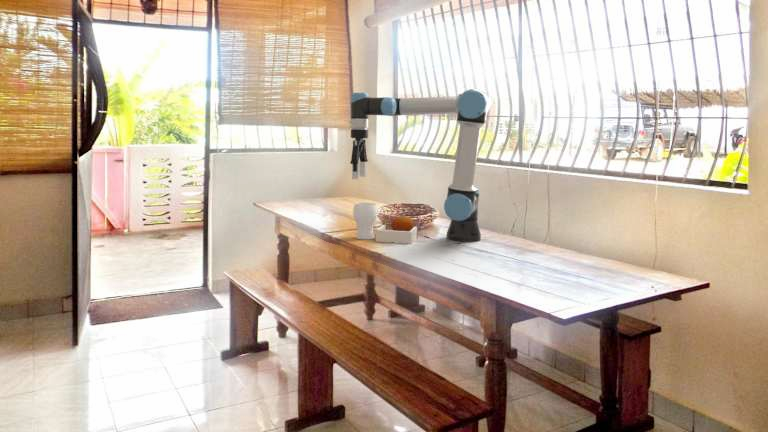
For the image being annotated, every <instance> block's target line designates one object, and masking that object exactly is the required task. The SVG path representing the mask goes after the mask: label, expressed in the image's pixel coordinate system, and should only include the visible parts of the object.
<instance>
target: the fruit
mask: <svg viewBox="0 0 768 432" xmlns="http://www.w3.org/2000/svg"><path fill="white" fill-rule="evenodd" d="M414 222H415V221H414V219H412V218H411V217H410V216H406V215H405V216H404V215H397V216H396V217H394V218H393V219H392V220H391V224H390V225H391V229H392V230H393V231H410V230H411V229H412V228H413V227H414Z"/></svg>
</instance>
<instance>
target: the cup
mask: <svg viewBox="0 0 768 432" xmlns="http://www.w3.org/2000/svg"><path fill="white" fill-rule="evenodd" d="M378 212H379V211H378V205H377V204H376V203H374V202H356V203H354V205H353V209H352V215H353V218H354V221H355V223H356V229H357V230H356V235H355V236H356V237H355V238H356V239H357V240H372V239H374V238H375V237H374V224H375V222H376V220H377V217H378Z"/></svg>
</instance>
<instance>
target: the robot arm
mask: <svg viewBox="0 0 768 432" xmlns="http://www.w3.org/2000/svg"><path fill="white" fill-rule="evenodd" d="M350 98H351V99H350V120H349V123H350V128H352V129H350V138H351V139H355V140H352V151H351V157H350V164H351V166H352V169H351V170H352V171H351V174H352V176H351V177H352V178H351V179H352V180H360V177H366V171H367V170H366V168H367V167H366V166H367V162H368V160H369V159H368V157H367V147H366V146H367V145H366V143H367V142H366V139H368V138H369V130H368V129H369V116H386V117H387V116H390V117H395V116H397V117H398V116H429V115H430V116H431V115H434V116H435V115H436V116H437V115H457V118H456V122H457V123H458V125H459V131H458V139H457V146H456V147H457V148H456V152H455V153H456V155H455V161H454V169H453V178H452V183H451V184H450V185H448V187H447V195H446V199H445V200H444V204H443V209H444V213H445V214H446V216H447V217H448V218H449V219H451V220H450V224H449V226H448V229H447V231H446V239H447V240H451V241H455V242H478V241H480V240H481V238H482V234H481V231H480V226H479V223H478V222H479V221H478V219H479V217H478V216H479V197H480V193H479V192H480V191H479V188H477V187H475V186H474V181H475V180H474V179H475V173H476V167H477V166H476V165H477V160H478V159H477V158H478V151H479V145H480V137H481V130H482V129H481V128H482V127H484V126H485V125H486V120H487V114H488V113H489V112H490V108H491V106H492V105H491V104H492V103H491V99H490V96H488V94H487V93H486V92H484V91H482V90H480V89H477V88H469V89H467V90H464V92H462V93H459V94H458V95H457V96H454V95H453V96H433V97H432V96H431V97H428V96H427V97H402V98H401V97H397V98H395V97H388V96H387V97H386V96H385V97H384V96H383V97H370V96H369V93H368V92H353V93H351V97H350Z"/></svg>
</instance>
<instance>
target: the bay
mask: <svg viewBox="0 0 768 432" xmlns="http://www.w3.org/2000/svg"><path fill="white" fill-rule="evenodd" d="M418 236H419V221H416V220H415V221H414V227H413V228H412V229H411V230H410V231H393V229H392V230H391V229H388V219H383V220H382V225H381V226H380V227H378V228H376V229H375V242H379V243H391V242H394V244H405V245H407V244H409V245H411V244H414V242H415V240H416V239H417V238H419V237H418Z"/></svg>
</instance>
